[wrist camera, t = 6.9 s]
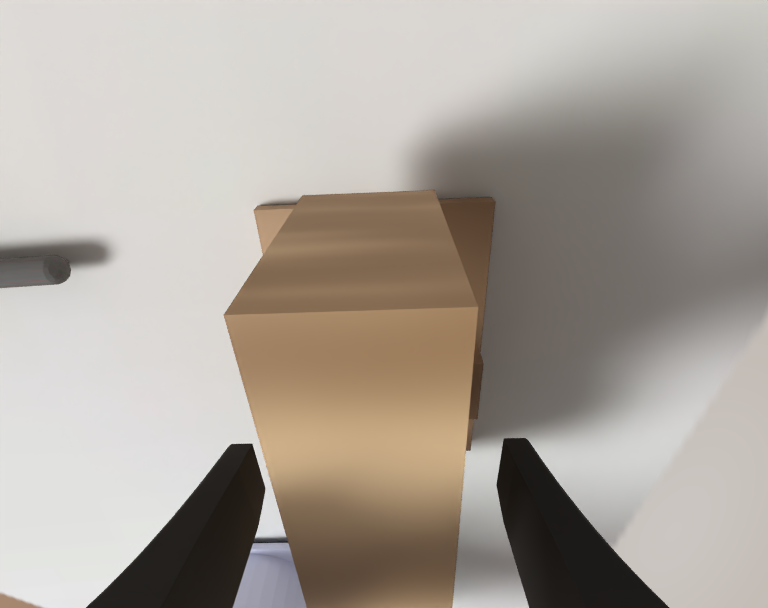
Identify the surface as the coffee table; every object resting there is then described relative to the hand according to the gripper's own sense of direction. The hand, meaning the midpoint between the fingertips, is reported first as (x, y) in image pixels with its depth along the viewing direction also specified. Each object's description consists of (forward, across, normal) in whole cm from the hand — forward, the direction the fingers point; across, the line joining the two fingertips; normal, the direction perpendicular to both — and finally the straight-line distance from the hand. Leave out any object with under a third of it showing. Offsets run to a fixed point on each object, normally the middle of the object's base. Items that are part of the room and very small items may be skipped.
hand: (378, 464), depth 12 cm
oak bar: (+3, 0, 0) cm, 3 cm away
